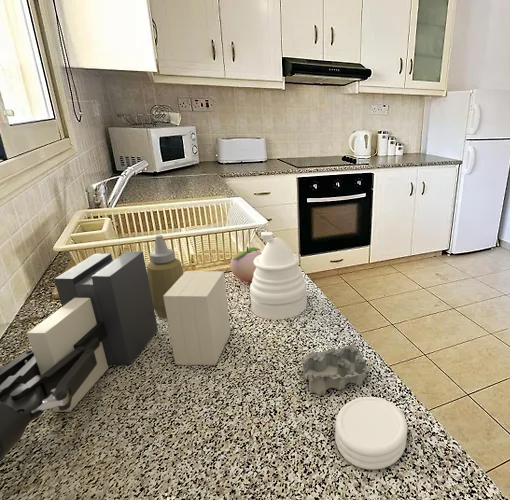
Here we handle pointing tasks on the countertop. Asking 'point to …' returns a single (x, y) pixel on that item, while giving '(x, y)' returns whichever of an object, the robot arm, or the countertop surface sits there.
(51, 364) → the thin white book
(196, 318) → the white books
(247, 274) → the decorative fruit
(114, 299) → the grey books
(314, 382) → the egg carton
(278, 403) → the countertop surface
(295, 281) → the honey pot
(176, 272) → the squeeze bottle
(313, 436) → the countertop surface
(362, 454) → the white jar lid
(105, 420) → the countertop surface
